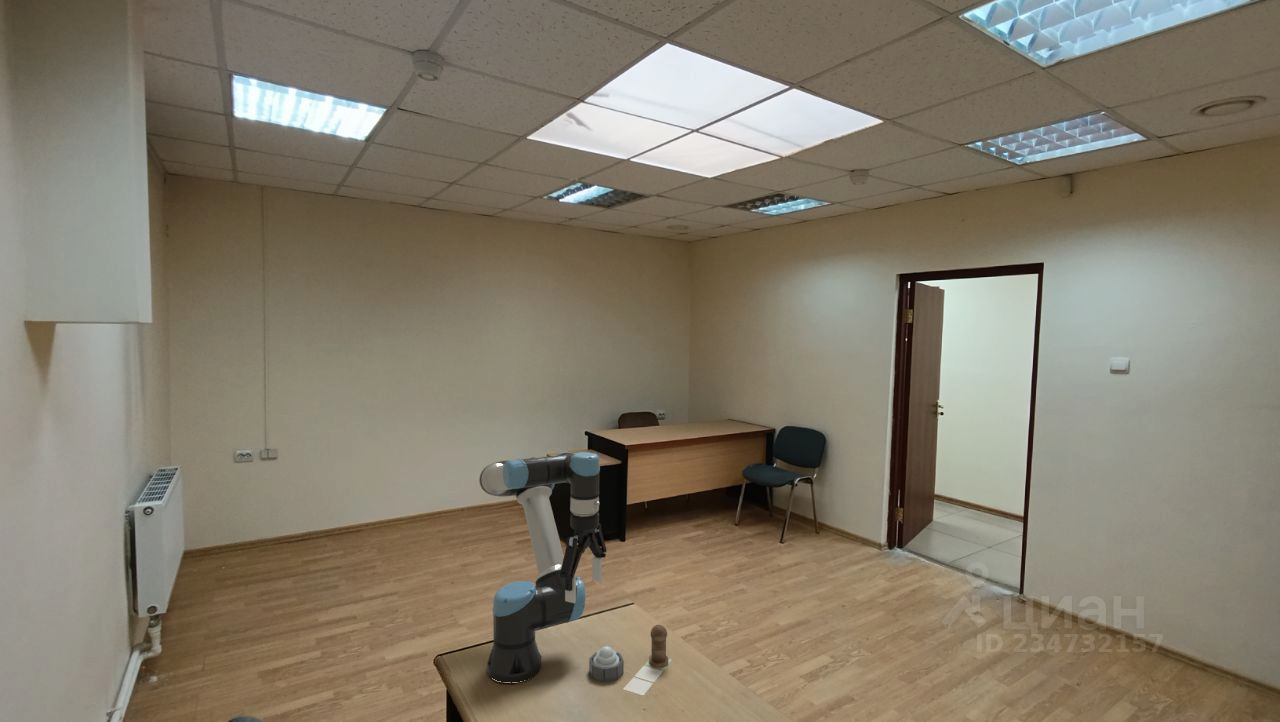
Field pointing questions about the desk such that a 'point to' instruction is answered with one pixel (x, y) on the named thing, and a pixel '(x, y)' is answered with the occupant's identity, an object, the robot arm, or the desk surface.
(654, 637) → the walnut pawn
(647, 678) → the game board
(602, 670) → the dome base
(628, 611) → the desk surface
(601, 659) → the pop-up dome
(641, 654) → the desk surface
